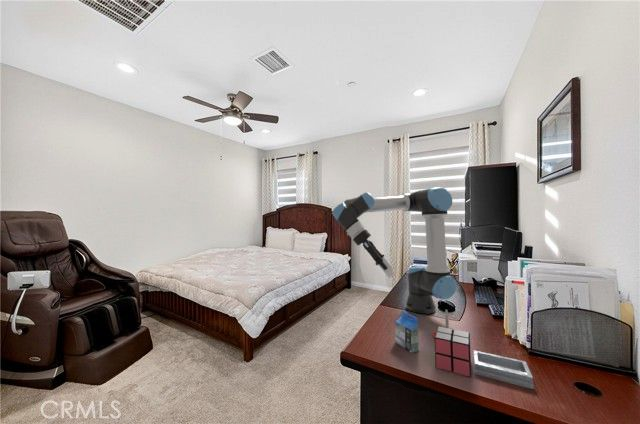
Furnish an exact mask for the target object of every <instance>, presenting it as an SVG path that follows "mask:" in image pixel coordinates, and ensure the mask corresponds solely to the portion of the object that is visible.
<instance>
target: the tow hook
mask: <svg viewBox="0 0 640 424" xmlns="http://www.w3.org/2000/svg"><path fill="white" fill-rule="evenodd" d="M448 314H449V313H448V309H445V315H444V319H445V320H444V322H445V323H444V324H445V328H449V329H450V322H449V321H450V320H449V315H448ZM435 334H436V331H434V332H433V333H432V337H433V338H435Z"/></svg>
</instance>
